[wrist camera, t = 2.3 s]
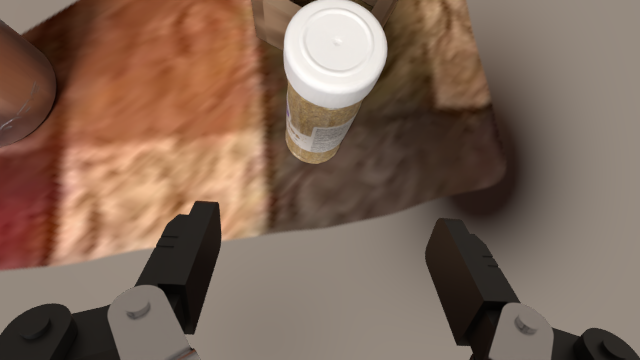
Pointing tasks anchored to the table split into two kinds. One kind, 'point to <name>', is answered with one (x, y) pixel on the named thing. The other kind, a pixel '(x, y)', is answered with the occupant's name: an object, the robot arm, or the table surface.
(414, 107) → the table surface
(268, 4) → the open square sleeve
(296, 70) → the sprinkles bottle
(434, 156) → the table surface
